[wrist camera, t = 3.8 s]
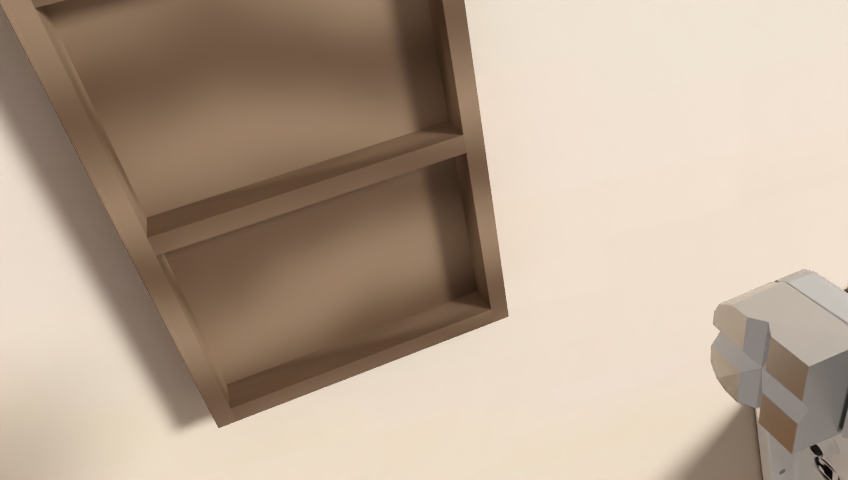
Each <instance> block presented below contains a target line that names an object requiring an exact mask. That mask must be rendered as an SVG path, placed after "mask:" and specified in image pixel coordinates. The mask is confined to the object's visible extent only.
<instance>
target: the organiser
mask: <svg viewBox="0 0 848 480" xmlns="http://www.w3.org/2000/svg"><path fill="white" fill-rule="evenodd" d="M0 4H1V6H2V8H3V10H4V12H5V14H6V16H7V18H8V20H9V21H10V23H11V25H12V27H13V29H14V31H15V33H16V35H17V37H18V39H19V41H20V43H21V45H22V47H23V49H24V51H25V53H26V55H27V56H28V58H29V60H30V62H31V64H32V66H33V68H34V70H35V72H36V74H37V76H38V78H39V80H40V82H41V84H42V86H43V88H44V90H45V91H46V93H47V95H48V97H49V99H50V101H51V103H52V105H53V107H54V109H55V111H56V113H57V115H58V117H59V119H60V121H61V123H62V125H63V126H64V128H65V130H66V132H67V134H68V136H69V138H70V140H71V142H72V144H73V146H74V148H75V150H76V152H77V154H78V156H79V158H80V160H81V161H82V163H83V165H84V167H85V169H86V171H87V173H88V175H89V177H90V179H91V181H92V183H93V185H94V187H95V189H96V191H97V193H98V195H99V196H100V198H101V200H102V202H103V204H104V206H105V208H106V210H107V212H108V214H109V216H110V218H111V220H112V222H113V224H114V226H115V228H116V230H117V232H118V233H119V235H120V237H121V239H122V241H123V243H124V245H125V247H126V249H127V251H128V253H129V255H130V257H131V259H132V261H133V263H134V265H135V267H136V268H137V270H138V272H139V274H140V276H141V278H142V280H143V282H144V284H145V286H146V288H147V290H148V292H149V294H150V296H151V298H152V300H153V302H154V303H155V305H156V307H157V309H158V311H159V313H160V315H161V317H162V319H163V321H164V323H165V325H166V327H167V329H168V331H169V333H170V335H171V337H172V338H173V340H174V342H175V344H176V346H177V348H178V350H179V352H180V354H181V356H182V358H183V360H184V362H185V364H186V366H187V368H188V370H189V372H190V373H191V375H192V377H193V379H194V381H195V383H196V385H197V387H198V389H199V391H200V393H201V395H202V397H203V399H204V401H205V403H206V405H207V407H208V409H209V410H210V412H211V414H212V416H213V418H214V420H215V422H216V424H217V426H218V428H220V427H223V426H225V425H228V424H230V423H233V422H236V421H238V420H241V419H243V418H246V417H249V416H251V415H254V414H256V413H259V412H262V411H264V410H267V409H269V408H272V407H275V406H277V405H280V404H282V403H285V402H288V401H290V400H293V399H295V398H298V397H301V396H303V395H306V394H308V393H311V392H314V391H316V390H319V389H321V388H324V387H327V386H329V385H332V384H334V383H337V382H340V381H342V380H345V379H347V378H350V377H352V376H355V375H358V374H360V373H363V372H365V371H368V370H371V369H373V368H376V367H378V366H381V365H384V364H386V363H389V362H391V361H394V360H397V359H399V358H402V357H404V356H407V355H410V354H412V353H415V352H417V351H420V350H423V349H425V348H428V347H430V346H433V345H436V344H438V343H441V342H443V341H446V340H449V339H451V338H454V337H456V336H459V335H462V334H464V333H467V332H469V331H472V330H475V329H477V328H480V327H482V326H485V325H488V324H490V323H493V322H495V321H498V320H500V319H503V318H506V317H508V309H507V302H506V295H505V288H504V281H503V274H502V267H501V260H500V252H499V245H498V238H497V231H496V224H495V217H494V210H493V202H492V195H491V188H490V181H489V174H488V167H487V160H486V153H485V145H484V138H483V131H482V124H481V117H480V110H479V103H478V95H477V88H476V81H475V74H474V67H473V60H472V53H471V46H470V38H469V31H468V24H467V17H466V10H465V3H464V0H0Z"/></svg>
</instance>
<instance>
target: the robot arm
mask: <svg viewBox="0 0 848 480" xmlns="http://www.w3.org/2000/svg"><path fill="white" fill-rule="evenodd" d="M713 325H714V326H715V327H716V328H717V329H718V330H720V333H719V334H718V336H717V338H716V339H715V341H714V342H713V344H712V345H711V364H712V367H713V369H714V372H715V375H716V377H717V379H718V381H719V382H720V384H721V385H722V386H723V388H724V389H725V391H726V392H727V393H728V394H729V395H730V396H731V397H732V398H733V399H734V400H735V401H736V402H738V403H741V404H744V405H747V406H751V407H754V408H755V413H756V422H757V430H758V439H759V447H760V456H761V465H762V473H763V480H848V293H847V292H845V291H844V290H842V289H841V288H839V287H837V286H836V285H834V284H833V283H831V282H830V281H828V280H827V279H825V278H824V277H822V276H821V275H819V274H818V273H816V272H813V271H810V270H806V269H803V270H801V271H798V272H796V273H793V274H791V275H788V276H786V277H784V278H781V279H779V280H776V281H775V282H770V283H768V284H765V285H763V286H761V287H758V288H756V289H754V290H751V291H749V292H747V293H744V294H742V295H739V296H737V297H735V298H732V299H730V300H728V301H725V302H723V303H721V304H719V305H718V307H717V308H716V310H715V311H714V319H713Z"/></svg>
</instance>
